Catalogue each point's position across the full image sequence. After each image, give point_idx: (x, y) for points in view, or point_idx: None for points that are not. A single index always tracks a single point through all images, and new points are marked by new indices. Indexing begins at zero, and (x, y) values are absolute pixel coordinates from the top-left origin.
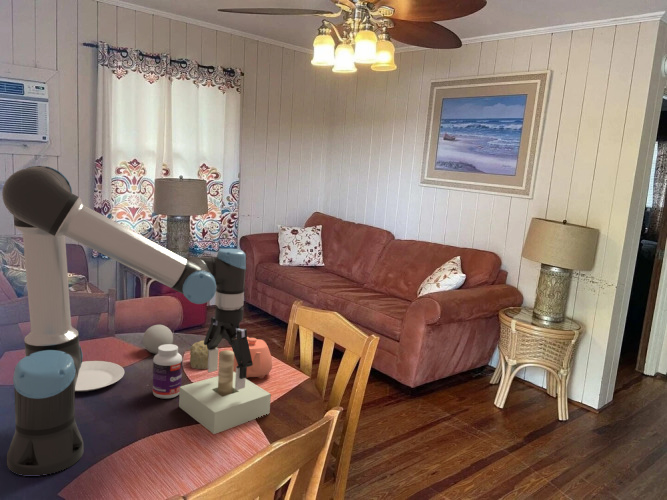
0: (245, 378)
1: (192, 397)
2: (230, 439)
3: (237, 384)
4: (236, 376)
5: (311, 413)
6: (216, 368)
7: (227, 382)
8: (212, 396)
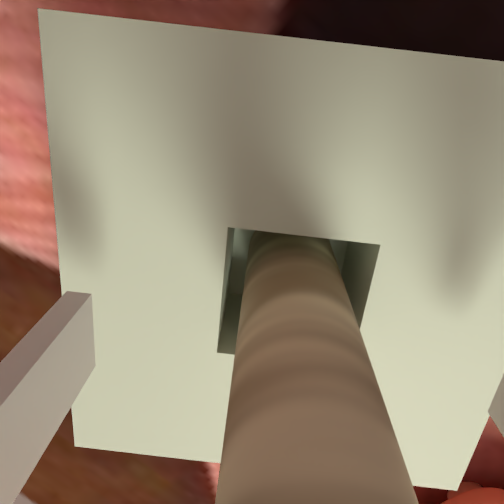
0: (450, 496)
1: (401, 50)
2: (11, 65)
3: (42, 326)
4: (6, 375)
5: None
6: (500, 418)
7: (242, 330)
8: (280, 175)
